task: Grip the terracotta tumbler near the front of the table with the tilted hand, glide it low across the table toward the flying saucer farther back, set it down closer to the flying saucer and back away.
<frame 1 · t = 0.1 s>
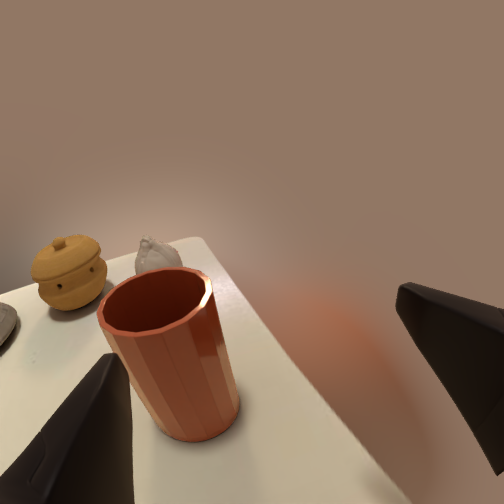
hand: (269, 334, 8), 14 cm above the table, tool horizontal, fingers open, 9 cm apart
figurine: (165, 286, 40), on the table
tumbler: (195, 405, 21), on the table
pot: (80, 299, 38), on the table
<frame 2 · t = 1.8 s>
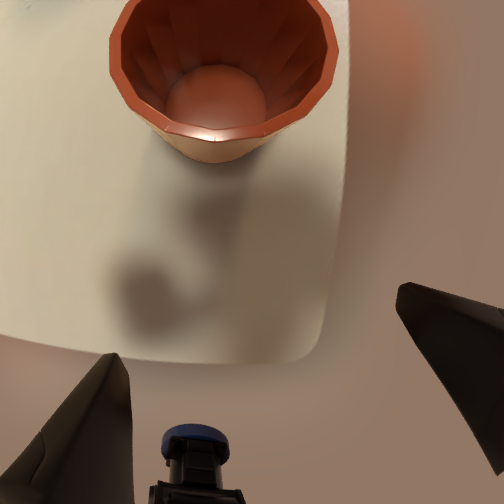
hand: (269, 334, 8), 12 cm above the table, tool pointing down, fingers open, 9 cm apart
tumbler: (215, 110, 17), on the table
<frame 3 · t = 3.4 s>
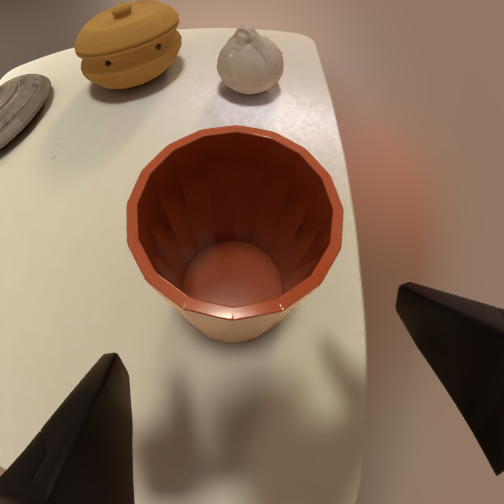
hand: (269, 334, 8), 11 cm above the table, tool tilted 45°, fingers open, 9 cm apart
figurine: (250, 88, 27), on the table
tumbler: (232, 288, 20), on the table
pot: (135, 74, 28), on the table
flying saucer: (9, 121, 25), on the table
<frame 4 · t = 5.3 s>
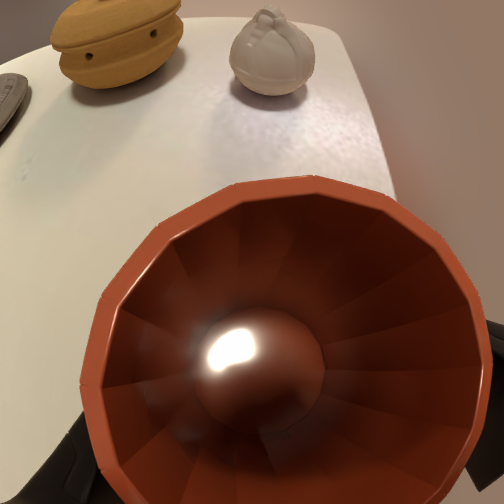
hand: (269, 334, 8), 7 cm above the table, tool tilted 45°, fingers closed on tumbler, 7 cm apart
figurine: (270, 87, 22), on the table
tumbler: (258, 371, 14), on the table, touching gripper
pot: (127, 70, 22), on the table
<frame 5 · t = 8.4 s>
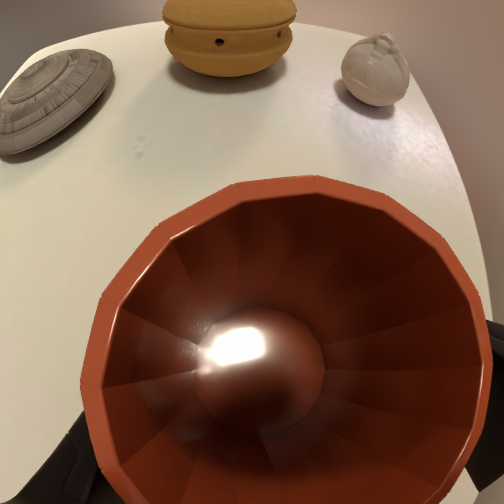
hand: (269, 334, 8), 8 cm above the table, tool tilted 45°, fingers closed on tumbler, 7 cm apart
figurine: (365, 97, 24), on the table
tumbler: (259, 371, 14), point 1 cm above the table, touching gripper
pot: (227, 62, 25), on the table
flying saucer: (51, 106, 22), on the table
when the fingers open (7 cm above the table, at t = 11.5 s): tumbler stays where it is, on the table.
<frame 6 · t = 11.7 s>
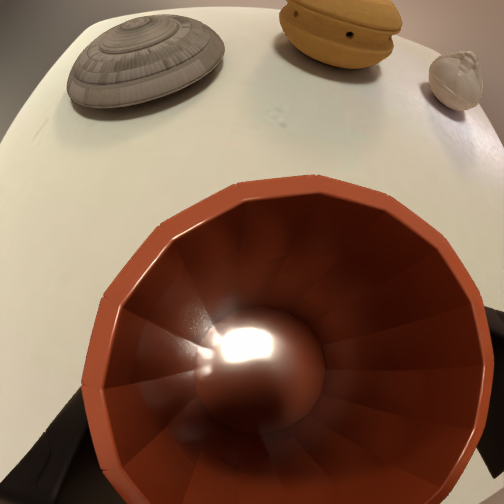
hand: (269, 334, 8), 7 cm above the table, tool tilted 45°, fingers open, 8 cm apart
figurine: (443, 101, 24), on the table
tumbler: (259, 371, 14), on the table
pot: (329, 54, 25), on the table
flying saucer: (145, 69, 22), on the table
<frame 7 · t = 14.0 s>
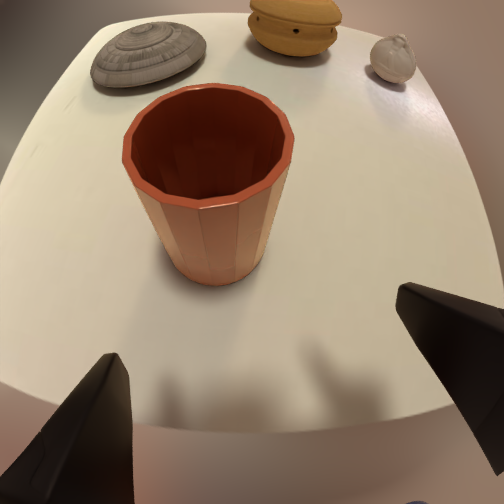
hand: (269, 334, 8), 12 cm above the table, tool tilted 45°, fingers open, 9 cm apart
figurine: (385, 78, 32), on the table
tumbler: (215, 238, 22), on the table
pot: (288, 47, 33), on the table
flying saucer: (148, 62, 30), on the table
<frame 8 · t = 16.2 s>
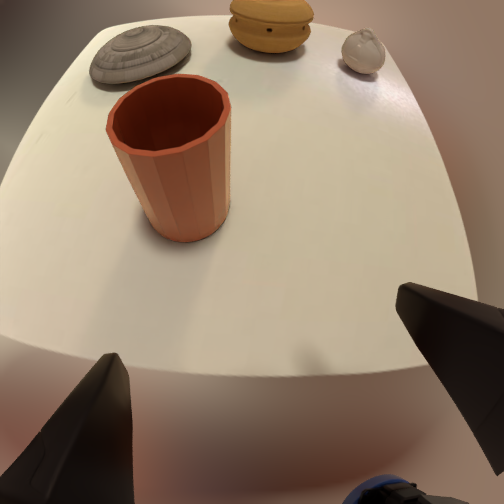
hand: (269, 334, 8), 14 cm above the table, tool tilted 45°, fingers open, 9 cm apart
figurine: (358, 69, 35), on the table
tumbler: (187, 204, 25), on the table
pot: (267, 45, 36), on the table
flying saucer: (140, 61, 33), on the table
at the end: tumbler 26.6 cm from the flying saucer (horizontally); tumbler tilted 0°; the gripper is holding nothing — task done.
